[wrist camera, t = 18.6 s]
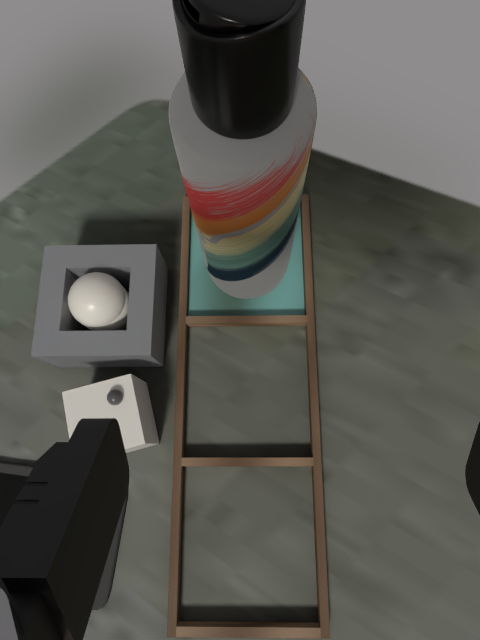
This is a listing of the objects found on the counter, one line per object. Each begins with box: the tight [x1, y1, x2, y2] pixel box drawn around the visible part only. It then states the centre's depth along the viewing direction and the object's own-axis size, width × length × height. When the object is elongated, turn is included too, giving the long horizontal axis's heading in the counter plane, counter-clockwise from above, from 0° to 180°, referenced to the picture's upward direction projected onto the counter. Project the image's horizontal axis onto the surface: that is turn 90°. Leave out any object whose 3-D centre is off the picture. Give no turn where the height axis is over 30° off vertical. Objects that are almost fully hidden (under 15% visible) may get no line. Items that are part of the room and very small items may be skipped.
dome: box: [68, 272, 129, 331], centre depth 28 cm, size 3×3×5 cm
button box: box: [31, 244, 168, 368], centre depth 29 cm, size 7×7×4 cm
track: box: [167, 194, 330, 638], centre depth 29 cm, size 9×28×1 cm, turn 0°
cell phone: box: [0, 461, 128, 610], centre depth 27 cm, size 7×14×1 cm, turn 83°
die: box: [62, 374, 160, 453], centre depth 27 cm, size 4×4×5 cm
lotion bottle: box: [169, 0, 317, 299], centre depth 22 cm, size 6×6×20 cm
